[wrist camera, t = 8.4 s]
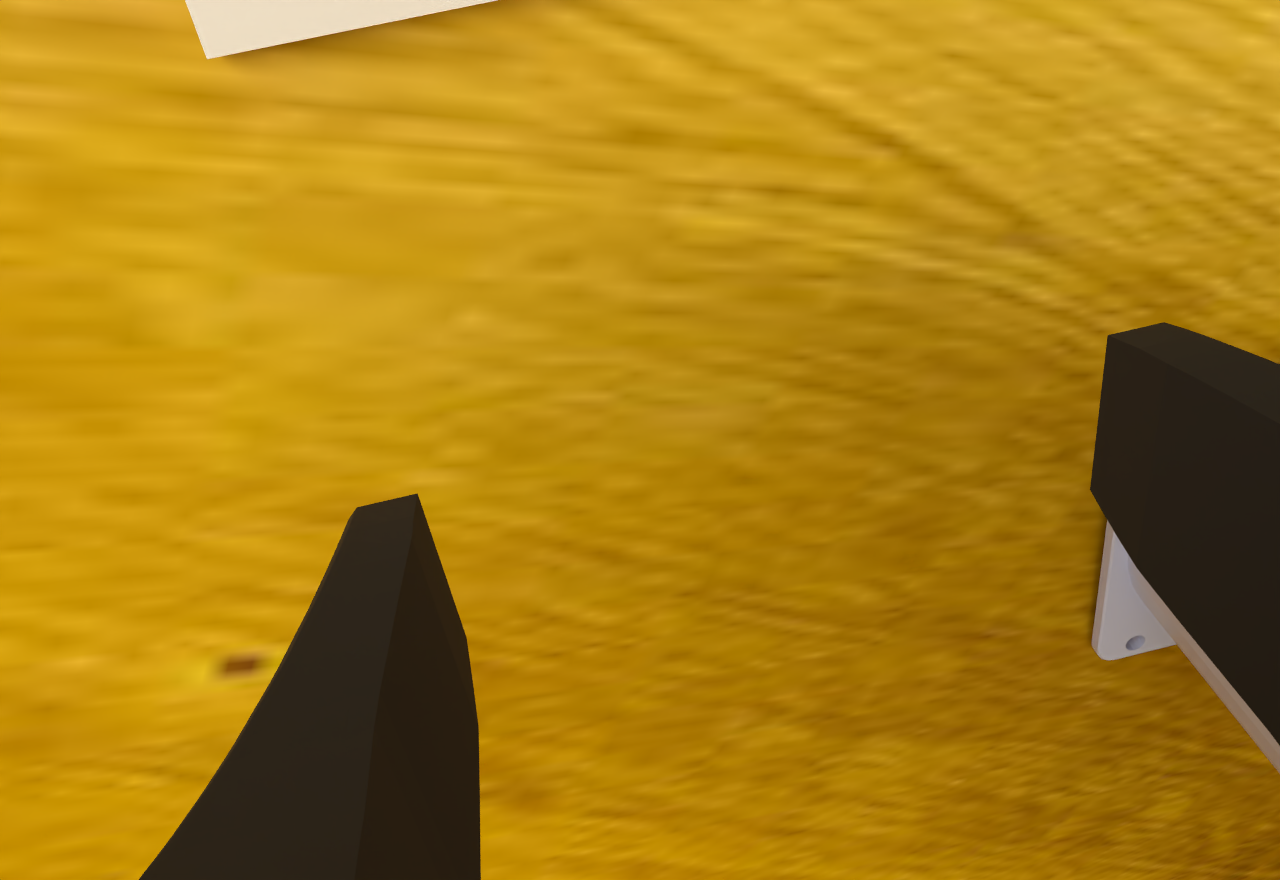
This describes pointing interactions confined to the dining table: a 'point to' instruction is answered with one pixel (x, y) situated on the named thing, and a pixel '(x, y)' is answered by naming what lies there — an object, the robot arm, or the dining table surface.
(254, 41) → the white card
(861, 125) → the dining table surface
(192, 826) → the robot arm
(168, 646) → the dining table surface
